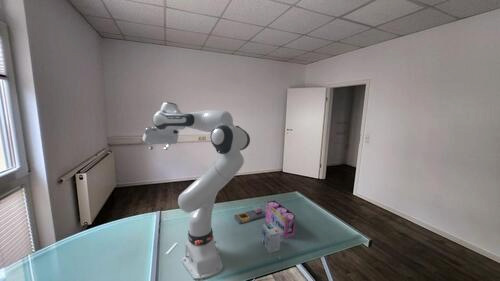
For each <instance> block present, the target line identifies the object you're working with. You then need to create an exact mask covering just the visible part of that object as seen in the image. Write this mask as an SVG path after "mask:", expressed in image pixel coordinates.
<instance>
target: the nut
mask: <svg viewBox="0 0 500 281" xmlns="http://www.w3.org/2000/svg"><path fill="white" fill-rule="evenodd" d="M261 209H262V207H261V206H259V205H256V206H254V207H253V210H254V213H255V214H256V215H257V214H260V213H261ZM262 210H263V209H262Z"/></svg>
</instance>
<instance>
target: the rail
mask: <svg viewBox="0 0 500 281" xmlns="http://www.w3.org/2000/svg"><path fill="white" fill-rule="evenodd" d="M262 218H266V211H264V210H263V209H261V213H260V214H257V215H256V214H255V213H254V209H253V210H249V211H245V212H242V213H237V214H234V215H233V219H234V220H235V221H236V223H238V225H241V224H244V223H247V222H251V221H255V220H258V219H262Z"/></svg>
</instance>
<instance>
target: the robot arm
mask: <svg viewBox="0 0 500 281" xmlns="http://www.w3.org/2000/svg"><path fill="white" fill-rule="evenodd" d="M152 123H153V125H154V127H153V126H148V127H146V128H145V129H144V133H143V136H142V142H144V143H145V144H148V150H150V151H152V150H153V149H154V147H153V146H152V145H153V144H166V145H165V146H164V147H163V149H164V150H166V151H168V149H169V147H170V146H172V144H173V145H176V144H177V143H178V140H179V134H180V131H181V130H184V129H186V128H189V129H193V130H198V131H201V132H207V133H210V142H211V144H212V146H213V148H215V151H216V153H217V154H220V156H219V157H218V158H217V159H216V160H215V161H214V162H213V164H212V165H211V166H210V167H209V168H208V169H207V170H206V171H205V172H204V173H203V174H202V175H200V176H199V177H198V178H197V179H196V180H195V181H194V182H192V183H191V184H190V185H189V186H188V187H187V188H186V189H184V190H183V191H182V192H181V193H180V194H179V195H178V197H177V204H178V207H179V209H180V210H181V211H183V212H184V213H187V214H189V216H188V231H187V232H188V233H187V239H188V240H187V241H186V242H185V246H184V256H183V257H182V258H181V263H182V264H183V266H184V268H185V269H186V270H187V272H188V274H191V275H190V276H191V278H192V279H193V278H194V279H200V280H204V279H203V278H205V279H207V278H210V277H213V276H215V275H217V274H218V273H219V272H221V271H222V270H223V263H222V259H221V256H220V247H219V246H216V244H217V241H216V240H215V238H214V237H215V236H214V234H213V228H212V217H213V216H212V215H213V211H214V207H215V206H214V205H215V202H216V199H217V198H216V197H217V196H218V193H219V191H221V190H222V189H223V188H224V187H225V186H226V185H227V184H229V183H230V181H231V180H232V179H233V178H234V177H235V176H236V175H237V174H238V172H239V171H240V170H241V168H242V167H243V165H244V163H245V158H244V156H243V154H242V153H241V151H243V150H246V149H247V148H248V147H249V146H250V143H251V137H250V134H249V133H248V132H247V131H246V130H244V129H243V128H242V127H241V126H239V125H234V118H233V116H232V114H231V113H230V112H228V111H226V110H220V109H207V110H205V109H204V110H200V111H194V112H187V113H186V112H185V113H183V112H182V111H181V110H180V109H179V106H178V104H177V103H173V102H170V101H169V102H168V101H164V102H163V103H162V105H161V107H160V109H159V110H157V111H156V112H155V113H154V114H153V115H152ZM194 279H193V280H194Z"/></svg>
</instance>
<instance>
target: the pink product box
mask: <svg viewBox="0 0 500 281" xmlns="http://www.w3.org/2000/svg"><path fill="white" fill-rule="evenodd" d="M265 212H266V216H265V220H266V222H267V224H268V223H273V224H274V225H275V226H276V227H277V229H278V230H279V231H280V232H281V237H282V238H283V239H286V238H291V237H293V236H295V229H296V227H295V226H296V214H295V213H293V211H291V210H289V209H288V208H287V207H285V206H283V205H282V203H279V202H278V200H271V201H266V202H265Z"/></svg>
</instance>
